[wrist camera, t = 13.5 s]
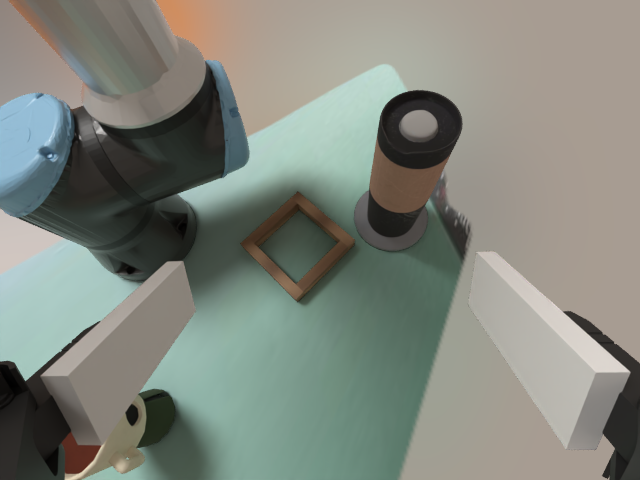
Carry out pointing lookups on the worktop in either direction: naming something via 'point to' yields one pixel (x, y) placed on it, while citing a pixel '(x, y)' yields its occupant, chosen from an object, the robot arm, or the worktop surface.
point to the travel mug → (409, 158)
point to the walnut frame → (276, 222)
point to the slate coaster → (382, 241)
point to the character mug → (122, 438)
